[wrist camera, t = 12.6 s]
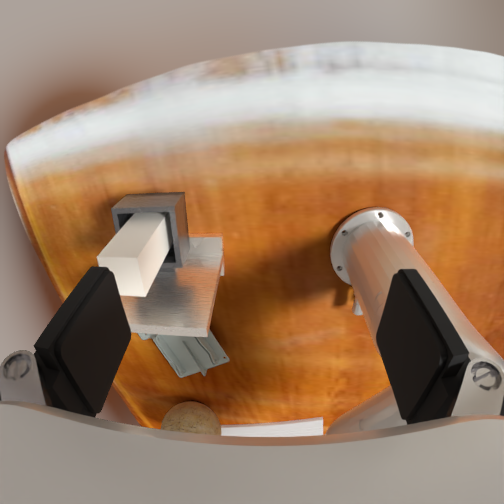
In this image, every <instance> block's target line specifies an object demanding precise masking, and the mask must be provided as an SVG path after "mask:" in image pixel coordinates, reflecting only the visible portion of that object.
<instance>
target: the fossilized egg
mask: <svg viewBox="0 0 504 504" xmlns="http://www.w3.org/2000/svg"><path fill="white" fill-rule="evenodd" d="M161 430H167V431H176V432H185V433H195V434H206V435H220V436H221V433H222V431H221V425H220V422H219V420H218V417H217V416H216V415H215V413H214V412H213V411H212V410H211V409H210V408H209V407H207V406H206V405H204V404H201V403H198V402H193V401H188V402H183V403H179V404H177V405H175V406H174V407H172V408H171V409H170V410H169V411H168V412H167V413H166V415H165V417H164V419H163V421H162V426H161Z"/></svg>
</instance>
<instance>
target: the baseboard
mask: <svg viewBox="0 0 504 504" xmlns="http://www.w3.org/2000/svg"><path fill="white" fill-rule="evenodd" d="M221 431H222V433H221V436H241V437H295V436H317V435H323V417H318V418H310V419H302V420H293V421H283V422H271V423H257V424H237V425H221Z"/></svg>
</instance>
